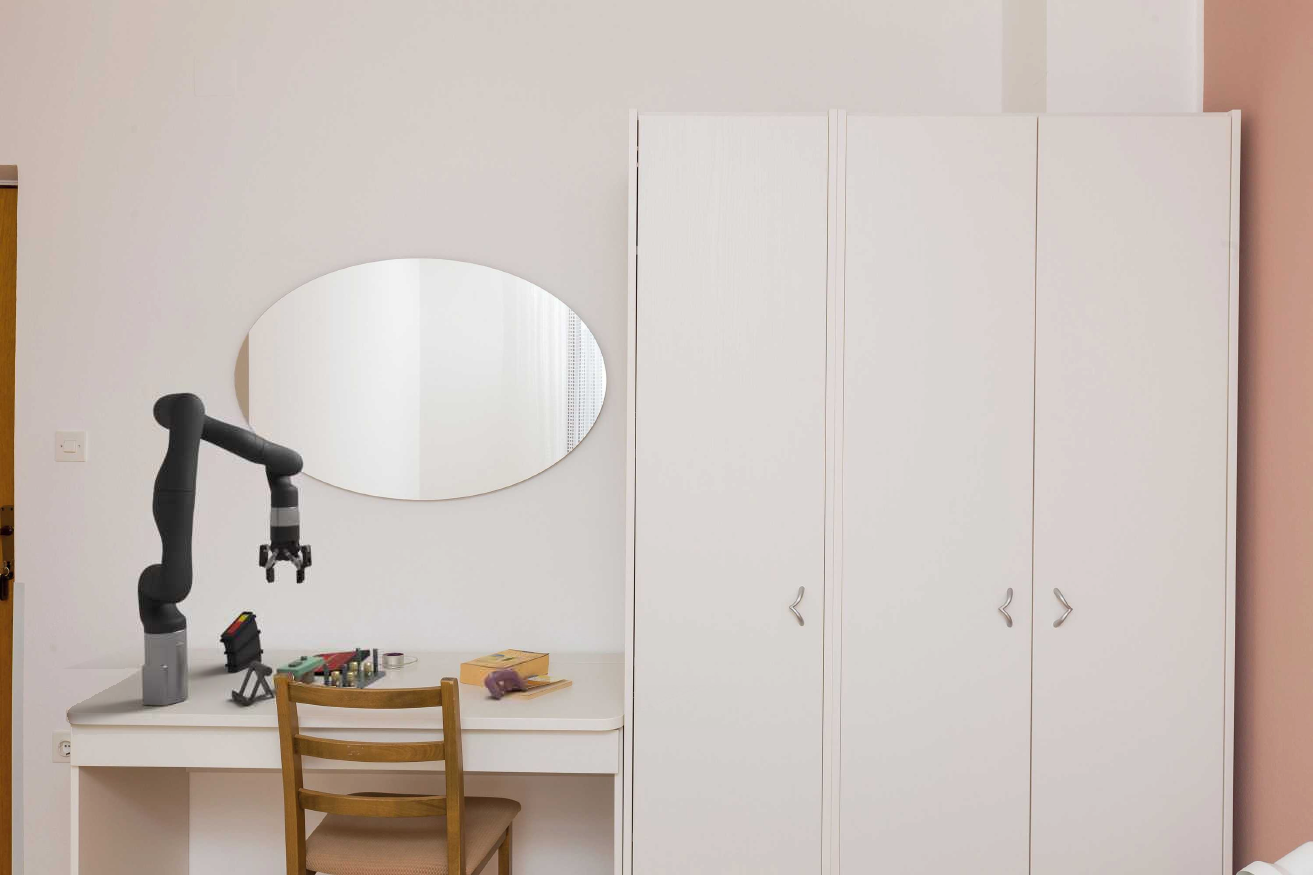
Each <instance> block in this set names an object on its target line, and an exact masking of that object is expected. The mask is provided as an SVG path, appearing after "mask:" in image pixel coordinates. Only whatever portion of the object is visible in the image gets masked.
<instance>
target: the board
mask: <svg viewBox="0 0 1313 875" xmlns="http://www.w3.org/2000/svg"><path fill="white" fill-rule="evenodd" d="M322 664H324V657H312V656H308V655H302V656H300V658H297V659H295V660H293V661H290V662H288V663H287V664H285V665H281V666H280V667H277V668H276V675H277V674H280V673H291V674H292V675H293V676H299V675H302V674H304V673H306V672H308V671H310V670H312V669H314V668H316V667H318V666H320V665H322Z"/></svg>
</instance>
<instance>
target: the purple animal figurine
mask: <svg viewBox="0 0 1313 875" xmlns="http://www.w3.org/2000/svg"><path fill="white" fill-rule="evenodd" d="M501 682H503V684H501ZM483 684H484V687H486V689H487V690H488V692H489V693H490V694H491V696H492V697H494V698H495V699H496V700H500V698H501V694H502V693H503V692H504V691H505V692H510V691H511V690H513V688H514V686H516V687H517V688H518V689H519V690H520V691H522V692H524V690H525V691H526V690H527V684H526V682H525V681H524V679H523V678H522V677H521V675H520V674H519V673H518V671H516V670H515V669H514V668H513V667H511V668H505V667H504V668H499V669H496V670H495V671H492V672H490V673H488V674H487V676H485V678H484V680H483ZM494 698H493V699H494Z"/></svg>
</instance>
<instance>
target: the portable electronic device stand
mask: <svg viewBox="0 0 1313 875" xmlns="http://www.w3.org/2000/svg"><path fill="white" fill-rule="evenodd" d="M253 672H254V673H255V675H256V677H257V679H256V681H255V684H254V686H253V689H252V691H251V693H250V697H246V696H245V695H244V693H245V691H246V688H247V685H248V683H249V681H250V678H251V676H252V673H253ZM271 675H273V668H272V667H269V665H266V664H263V663H262V662H261V663H259V662H257V661H253V662H252V663H251V664H250V667H248V668H247V672H246V674H245V677H244V679H243V682H242V685H241V688H240V689H239V691H238V692H237V691H235V690H231V698H232V699H234V700H235V701H237V702H238V703H239V702H240V703H241V704H242V705H244V706H246V707H250V706H251V705H252V704H253V703H254V701H255V698H256V695H257V692H258V690H259V687H260V685H261V687H262V690H263V691H264V694H265V695H267V696H269V695H270V697H271V698H273V699H274V698H275V696H274V693H273V691H272V689H271V688H270V687H271V686H269V684H268V682H267V680H266V677H270V676H271Z"/></svg>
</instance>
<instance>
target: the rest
mask: <svg viewBox="0 0 1313 875" xmlns="http://www.w3.org/2000/svg"><path fill="white" fill-rule="evenodd" d="M294 681H295V682H302V683H308V684H310V683H312V682H314V681H315V676H314V669H312V670H310V671H308V672H306V673H304V674H302V675H299V676H294Z"/></svg>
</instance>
